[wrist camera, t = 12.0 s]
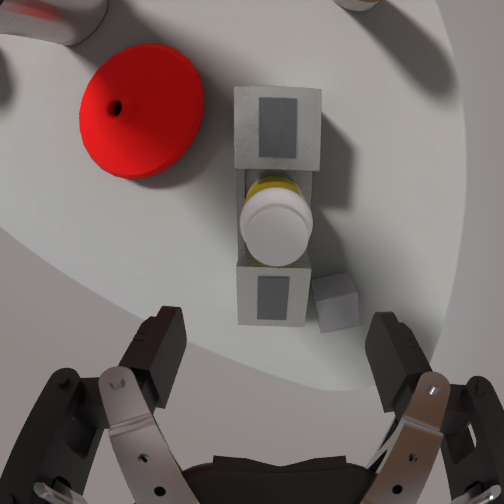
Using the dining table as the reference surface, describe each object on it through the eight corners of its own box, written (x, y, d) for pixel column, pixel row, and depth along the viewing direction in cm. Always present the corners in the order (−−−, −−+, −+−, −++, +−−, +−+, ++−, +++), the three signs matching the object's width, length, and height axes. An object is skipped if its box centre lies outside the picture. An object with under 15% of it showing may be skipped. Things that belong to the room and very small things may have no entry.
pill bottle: (235, 200, 30) (216, 236, 20) (275, 161, 28) (278, 178, 18) (273, 237, 32) (274, 289, 22) (314, 202, 30) (335, 240, 20)
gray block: (310, 279, 35) (315, 301, 30) (347, 270, 34) (357, 291, 30) (316, 309, 37) (321, 333, 32) (351, 301, 36) (359, 324, 32)
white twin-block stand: (238, 93, 26) (227, 80, 19) (313, 95, 26) (327, 83, 18) (240, 289, 36) (233, 329, 29) (302, 291, 36) (308, 331, 28)
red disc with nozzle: (182, 193, 31) (160, 210, 25) (80, 155, 30) (46, 164, 23) (232, 67, 25) (221, 49, 19) (117, 42, 23) (86, 29, 17)
